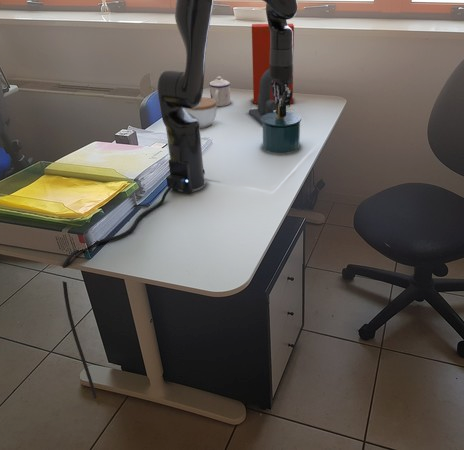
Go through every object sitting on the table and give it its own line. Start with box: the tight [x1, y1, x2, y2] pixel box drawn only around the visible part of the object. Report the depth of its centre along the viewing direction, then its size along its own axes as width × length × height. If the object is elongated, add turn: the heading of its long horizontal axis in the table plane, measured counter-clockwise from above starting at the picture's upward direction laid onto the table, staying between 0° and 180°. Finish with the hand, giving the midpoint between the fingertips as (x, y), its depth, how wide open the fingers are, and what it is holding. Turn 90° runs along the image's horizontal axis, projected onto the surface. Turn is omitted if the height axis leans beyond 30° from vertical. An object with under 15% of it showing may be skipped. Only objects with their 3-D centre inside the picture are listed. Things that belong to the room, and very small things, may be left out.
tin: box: [262, 121, 301, 154], centre depth 161 cm, size 13×13×10 cm
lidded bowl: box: [184, 96, 217, 129], centre depth 181 cm, size 13×13×11 cm
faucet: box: [248, 69, 292, 126], centre depth 186 cm, size 18×16×20 cm
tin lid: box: [261, 104, 302, 127], centre depth 157 cm, size 14×14×6 cm
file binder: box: [251, 23, 295, 105], centre depth 201 cm, size 8×17×32 cm, turn 90°
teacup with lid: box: [208, 76, 231, 107], centre depth 203 cm, size 12×9×12 cm
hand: (281, 115), depth 157 cm, fingers closed on tin lid, 2 cm apart
